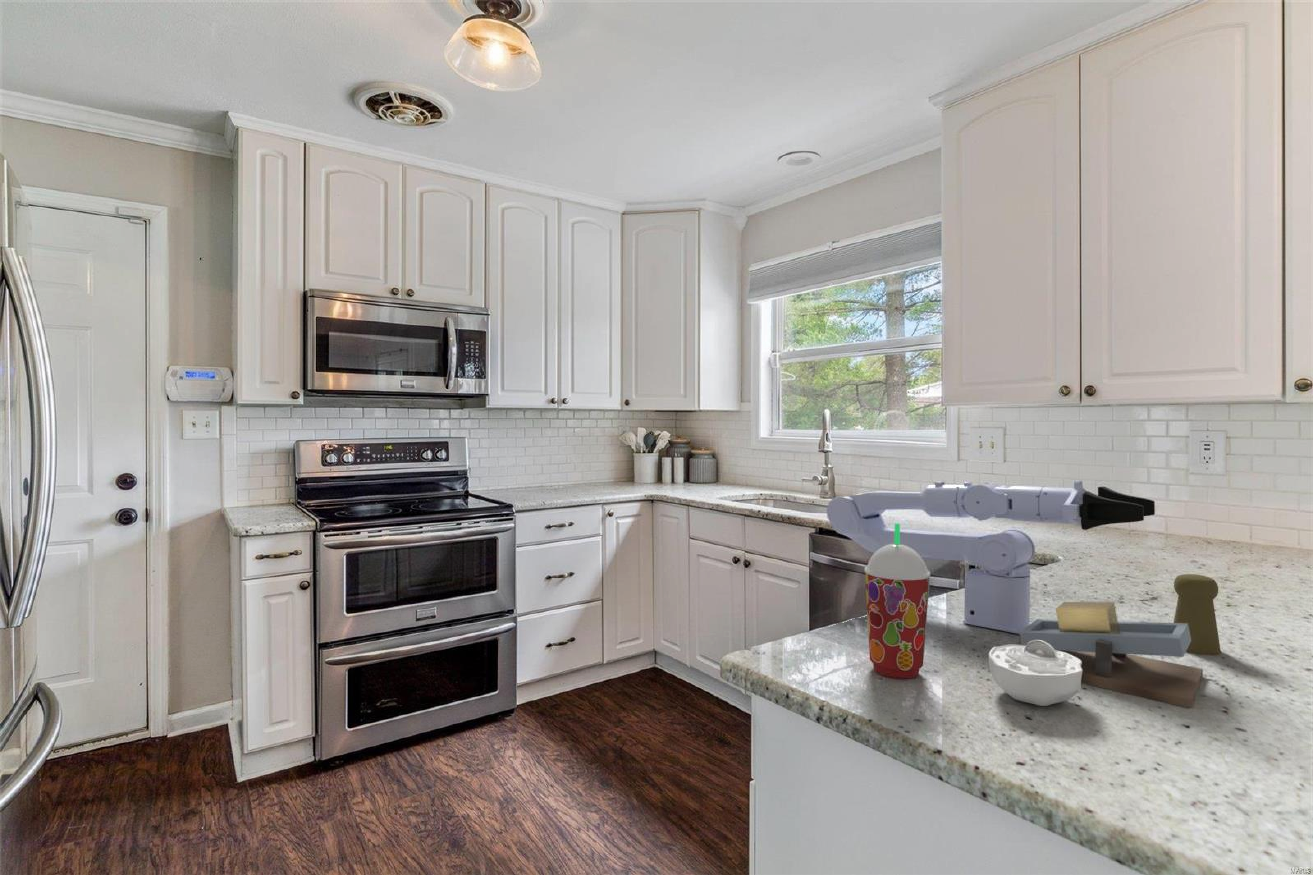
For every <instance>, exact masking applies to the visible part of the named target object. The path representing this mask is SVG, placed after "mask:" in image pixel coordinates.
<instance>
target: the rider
mask: <svg viewBox="0 0 1313 875" xmlns="http://www.w3.org/2000/svg"><path fill="white" fill-rule="evenodd" d="M1055 613H1056V618H1057V619H1056V620H1058V625H1059V630H1060V632H1081V633H1107V634H1118V633H1119V632H1120V631H1119V626H1118V622H1119V621H1118V615H1117V611H1116V606H1115V602H1114V601H1109V602H1107V601H1064V602H1062V603H1061V604H1060V605H1058V606H1057V607H1056V608H1055Z"/></svg>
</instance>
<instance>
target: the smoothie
mask: <svg viewBox="0 0 1313 875" xmlns="http://www.w3.org/2000/svg"><path fill="white" fill-rule="evenodd" d="M894 529H895V543H894V544H889V545H886V546H883V547H881V548H879V549H878V550H877V551H876V552H873V554H872V555H871V557H870V559H869V561H868V563H867V565H865V566H864V573H865V576H864V577H865V593H866V611H867V612H866V613H867V628H868V629H867V630H868V632H867V633H868V647H869V648H868V649H869V650H868V651H869V661H870V662H871V663H872V665H873V666H872V667H873V669H874V671H875V672H876V673H878V674H879V675H882V676H883V677H886V678H887V677H888V678H890V679H891V678H892V679H901V680H902V679H904V680H907V679H913V678H916V677H918V675H919V674H920V670H921V668H923V666H924V658H925V644H926V635H927V634H926V633H927V632H926V631H927V618H928V606H929V605H928V604H929V594H930V593H929V592H930V578H931V572H930V570H928V568H927V566H926V565H927V564H926V563H925V561H924V559H923V557H921V556H920V555H919V554H918V553H917V552H916V551H915V550H913V549H912V548H910V547H908V546H906V545H903V544H900V529H901V524H900V523H894Z"/></svg>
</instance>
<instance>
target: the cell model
mask: <svg viewBox="0 0 1313 875" xmlns="http://www.w3.org/2000/svg"><path fill="white" fill-rule="evenodd" d="M1081 664H1082V661H1081V660H1080V659H1078V658H1077V657H1075V656H1072V655H1070V654H1068V653H1065V652H1062V651H1057V650H1054V648H1053V647H1052V646H1051V645H1050V644H1048V643H1047V642H1045V641H1042V640H1033V641H1030V642H1029V643H1028V644H1027V645H1026V646H1024V645H1022V644H1015V643H1014V644H1013V643H1012V644H1009V643H1008V644H1005V645H1000V646H993V647H992V648H991V649H990V651H989V652H988V667H989V670H990V673H991V676H992V679H993V680H994V681H995V682H996V684H997V686H999V688H1000V689H1002V691H1003V692H1005V693H1006V694H1007V695H1009V696H1010V697H1011V698H1013V699H1015V700H1017V701H1020V702H1024V703H1028V704H1031V705H1032V704H1033V705H1035V706H1040V707H1046V706H1051V705H1053V704H1057V703H1064V702H1066V701H1069V700H1070V699H1072V698H1073V697H1074V696H1076V695H1078V694H1079V693H1080V690H1081V688H1082V683H1081V677H1082V671H1083V670H1082V668H1081Z"/></svg>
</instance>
